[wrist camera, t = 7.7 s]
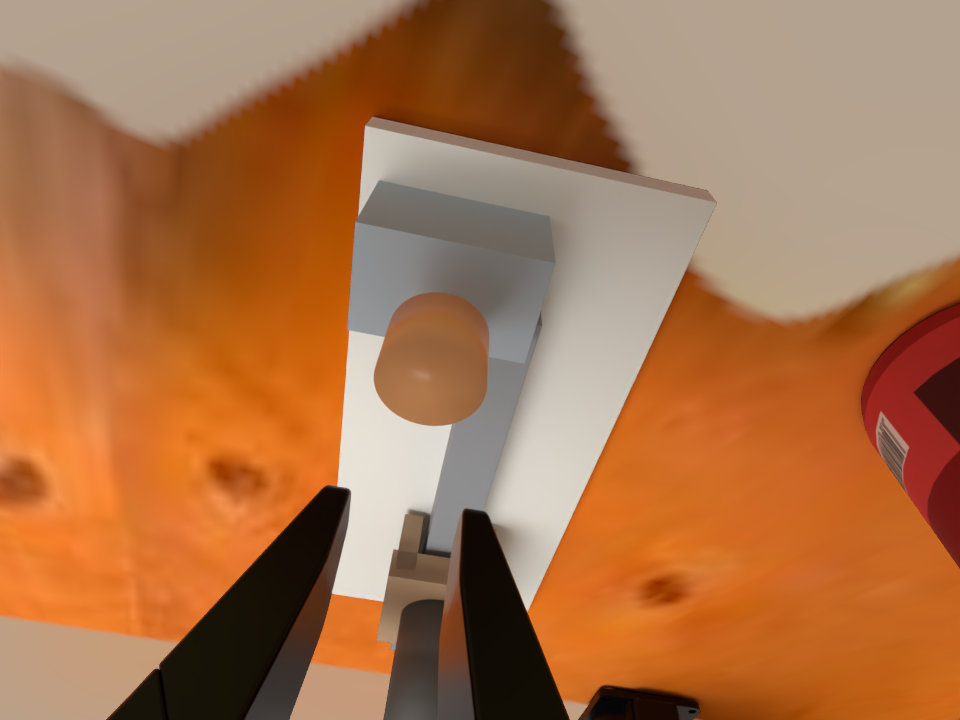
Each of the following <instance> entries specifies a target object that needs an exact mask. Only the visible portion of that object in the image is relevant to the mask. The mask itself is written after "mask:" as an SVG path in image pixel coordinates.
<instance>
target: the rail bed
mask: <svg viewBox="0 0 960 720" xmlns="http://www.w3.org/2000/svg"><path fill="white" fill-rule="evenodd" d="M716 204H717V202H716V201H715V200H714V199H713V197H712V196H711V195H710V193H709V192H708V191H707V190H703V189H699V188H694V187H689V186H685V185H680V184H676V183H671V182H667V181H662V180H658V179H653V178H649V177H644V176H640V175H635V174H631V173H626V172H621V171H617V170H612V169H608V168H603V167H599V166H594V165H590V164H585V163H581V162H576V161H572V160H567V159H562V158H558V157H553V156H549V155H544V154H540V153H535V152H531V151H526V150H522V149H517V148H513V147H508V146H504V145H499V144H494V143H490V142H485V141H481V140H476V139H472V138H467V137H463V136H458V135H454V134H449V133H445V132H440V131H435V130H431V129H426V128H422V127H417V126H413V125H408V124H404V123H399V122H395V121H390V120H386V119H381V118H377V117H372V118H371V119H370V120H369V122H368V123H367V124H366V125H365V135H364V148H363V161H362V174H361V187H360V200H359V213H358V218H357V220H356V222H355V234H354V247H353V261H352V274H351V288H350V301H349V315H348V328H347V330H349V343H348V356H347V369H346V382H345V395H344V409H343V422H342V435H341V448H340V461H339V474H338V487H344V488H348V489H350V490H351V502H350V512H349V522H348V528H347V533H346V537H345V541H344V545H343V549H342V553H341V557H340V562H339V566H338V570H337V574H336V578H335V582H334V586H333V590H332V594H338V595H344V596H351V597H357V598H364V599H370V600H377V601H383V602H384V596H385V590H386V585H387V579H388V574H389V569H390V564H391V559H392V554H393V549H396V550H398V549H399V544H400V538H401V533H402V528H403V523H404V517H405V514H409V515H415V516H421V517H424V518H423V524H422V531H421V537H420V544H419V550H418V553H420V554H427V555H433V556H439V557H445V558H451V550H452V544H453V540H454V536H455V532H456V529H457V525H458V522H459V518H460V515H461V512H462V510H463V509H465V508H469V509H475V510H481V511H485V512H486V513H487V514H488V515H489V517H490V520H491V522H492V525H493V527H494V529H497V534H496V535H497V537H498V540H499V542H500V545H501V547H502V550H503V552H504V555H505V557H506V560H507V562H508V565H509V567H510V570H511V573H512V575H513V578H514V580H515V583H516V585H517V588H518V590H519V593H520V595H521V598H522V600H523V603H524V605H525V608H526V610H527V612H528V609H529V607H530V605H531V603H532V601H533V599H534V596H535V594H536V592H537V590H538V588H539V586H540V583H541V581H542V579H543V577H544V575H545V573H546V571H547V568H548V566H549V564H550V562H551V560H552V558H553V555H554V553H555V551H556V549H557V547H558V545H559V543H560V540H561V538H562V536H563V534H564V532H565V530H566V527H567V525H568V523H569V521H570V519H571V517H572V514H573V512H574V510H575V508H576V506H577V504H578V502H579V499H580V497H581V495H582V493H583V491H584V489H585V486H586V484H587V482H588V480H589V478H590V476H591V474H592V471H593V469H594V467H595V465H596V463H597V461H598V458H599V456H600V454H601V452H602V450H603V448H604V445H605V443H606V441H607V439H608V437H609V435H610V433H611V430H612V428H613V426H614V424H615V422H616V420H617V417H618V415H619V413H620V411H621V409H622V407H623V405H624V402H625V400H626V398H627V396H628V394H629V392H630V389H631V387H632V385H633V383H634V381H635V379H636V376H637V374H638V372H639V370H640V368H641V366H642V364H643V361H644V359H645V357H646V355H647V353H648V351H649V348H650V346H651V344H652V342H653V340H654V338H655V336H656V333H657V331H658V329H659V327H660V325H661V323H662V320H663V318H664V316H665V314H666V312H667V310H668V307H669V305H670V303H671V301H672V299H673V297H674V295H675V292H676V290H677V288H678V286H679V284H680V282H681V279H682V277H683V275H684V273H685V271H686V269H687V267H688V264H689V262H690V260H691V258H692V256H693V254H694V251H695V249H696V247H697V245H698V243H699V241H700V238H701V236H702V234H703V232H704V230H705V228H706V226H707V223H708V221H709V219H710V217H711V215H712V212H713V210H714V208H715V206H716ZM429 292H443V293H449V294H453V295H456V296H458V297H461V298H463V299H465V300H467V301H468V302H470V303H471V304H472V305H474V306H475V307H476V308H477V309H478V310H479V311H480V312H481V314H482V315H483V317H484V318H485V320H486V322H487V325H488V328H489V333H490V345H489V362H488V379H487V391H486V395H485V398H484V401H483V402H482V404H481V406H480V407H479V408H478V409H477V410H476V411H475V412H474V413H473V414H472V415H471V416H469V417H468V418H466V419H464V420H462V421H460V422H457V423H454V424H450V425H444V426H427V425H421V424H416V423H413V422H410V421H408V420H405V419H403V418H401V417H399V416H398V415H396V414H395V413H393V412H392V411H391V410H390V409H389V408H387V407H386V405H385V404H384V403H383V402H382V401H381V399H380V398H379V396H378V394H377V392H376V389H375V386H374V370H375V366H376V363H377V360H378V357H379V354H380V351H381V348H382V344H383V341H384V338H385V335H386V332H387V329H388V326H389V323H390V320H391V317H392V315H393V314H394V312H395V310H396V309H397V308H398V307H399V306H400V305H401V304H402V303H403V302H405V301H406V300H408V299H409V298H411V297H413V296H416V295H419V294H423V293H429ZM395 648H396V643H391V647H390V650H395Z"/></svg>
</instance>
